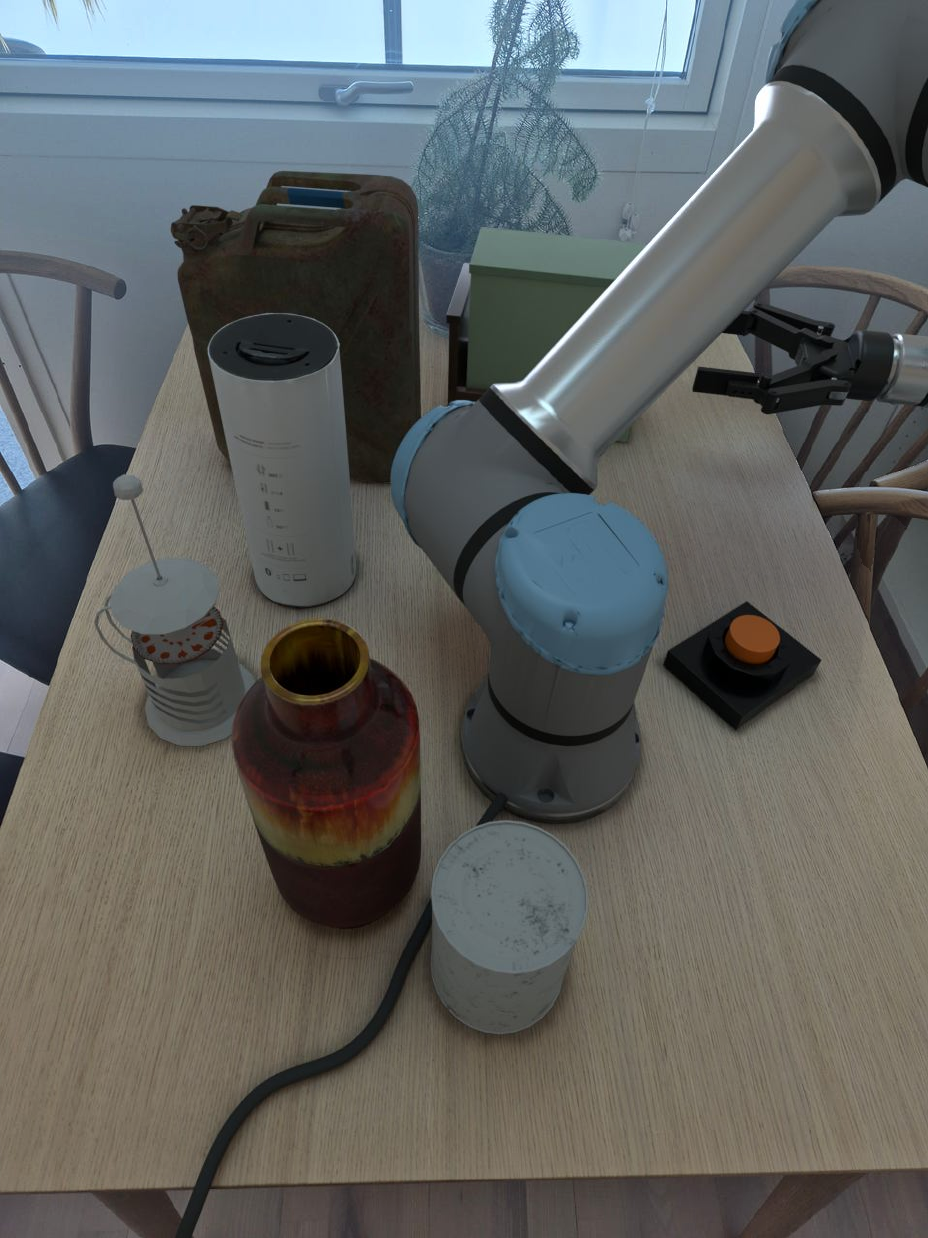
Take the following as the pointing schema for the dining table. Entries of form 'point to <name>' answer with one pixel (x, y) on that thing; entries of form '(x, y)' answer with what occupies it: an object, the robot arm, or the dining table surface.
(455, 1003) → the pale grey cylinder
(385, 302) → the container
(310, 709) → the vase
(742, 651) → the button
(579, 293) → the storage box
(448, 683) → the dining table surface
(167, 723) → the french press
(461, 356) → the rack
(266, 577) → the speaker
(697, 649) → the button block
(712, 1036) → the dining table surface
